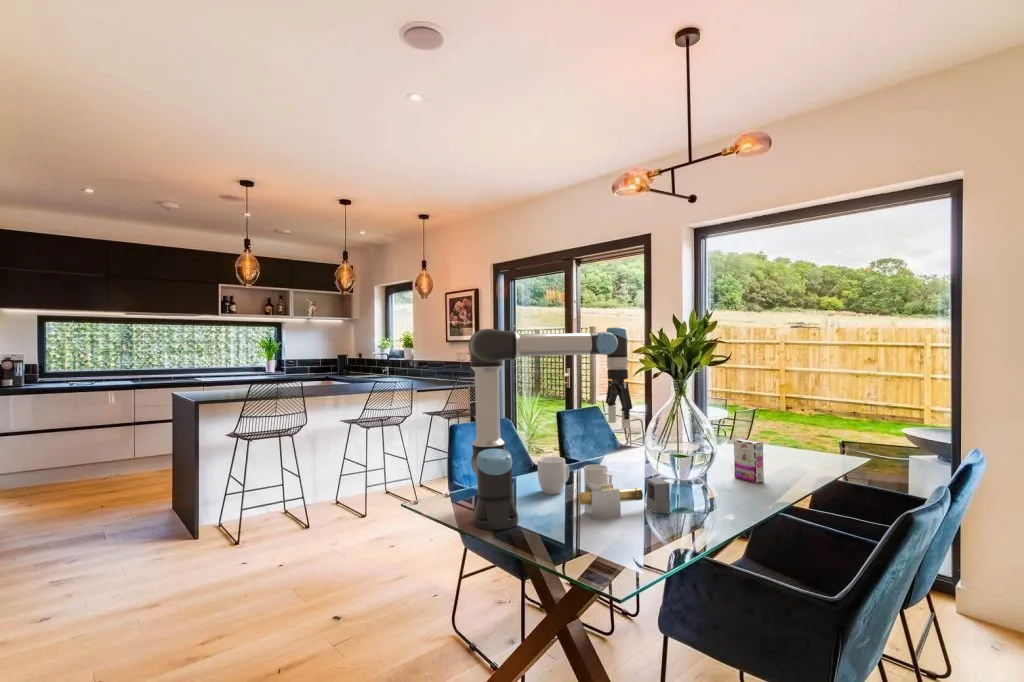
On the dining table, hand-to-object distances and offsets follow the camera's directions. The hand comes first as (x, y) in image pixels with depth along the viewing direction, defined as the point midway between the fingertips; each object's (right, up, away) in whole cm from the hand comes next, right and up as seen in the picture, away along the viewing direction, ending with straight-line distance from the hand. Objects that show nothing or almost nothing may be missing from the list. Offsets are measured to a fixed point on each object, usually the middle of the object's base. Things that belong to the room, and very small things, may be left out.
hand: (618, 425), depth 201 cm
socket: (+11, -28, -12) cm, 32 cm away
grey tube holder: (-9, -28, -16) cm, 34 cm away
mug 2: (-6, -28, +5) cm, 29 cm away
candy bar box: (+59, -27, +24) cm, 69 cm away
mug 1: (-23, -29, +13) cm, 39 cm away
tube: (-6, -24, -16) cm, 29 cm away
